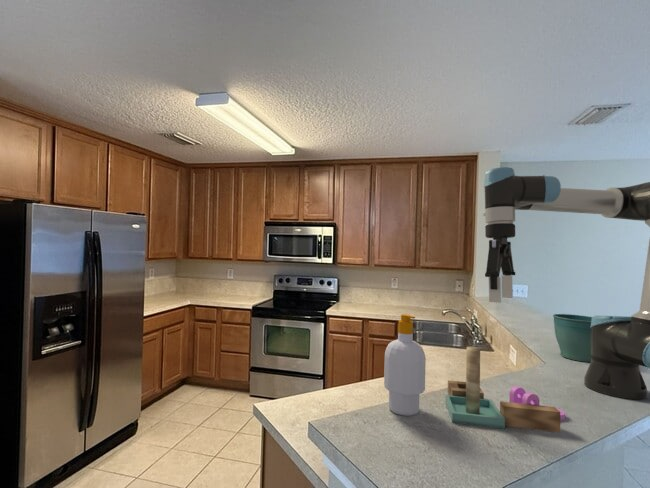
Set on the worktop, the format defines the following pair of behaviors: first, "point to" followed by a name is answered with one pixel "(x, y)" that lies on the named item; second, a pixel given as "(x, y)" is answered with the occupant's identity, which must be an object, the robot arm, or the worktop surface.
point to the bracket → (527, 398)
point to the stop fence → (530, 416)
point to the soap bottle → (404, 370)
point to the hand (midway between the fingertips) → (501, 299)
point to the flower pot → (573, 336)
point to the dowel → (473, 380)
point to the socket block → (459, 389)
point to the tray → (486, 417)
